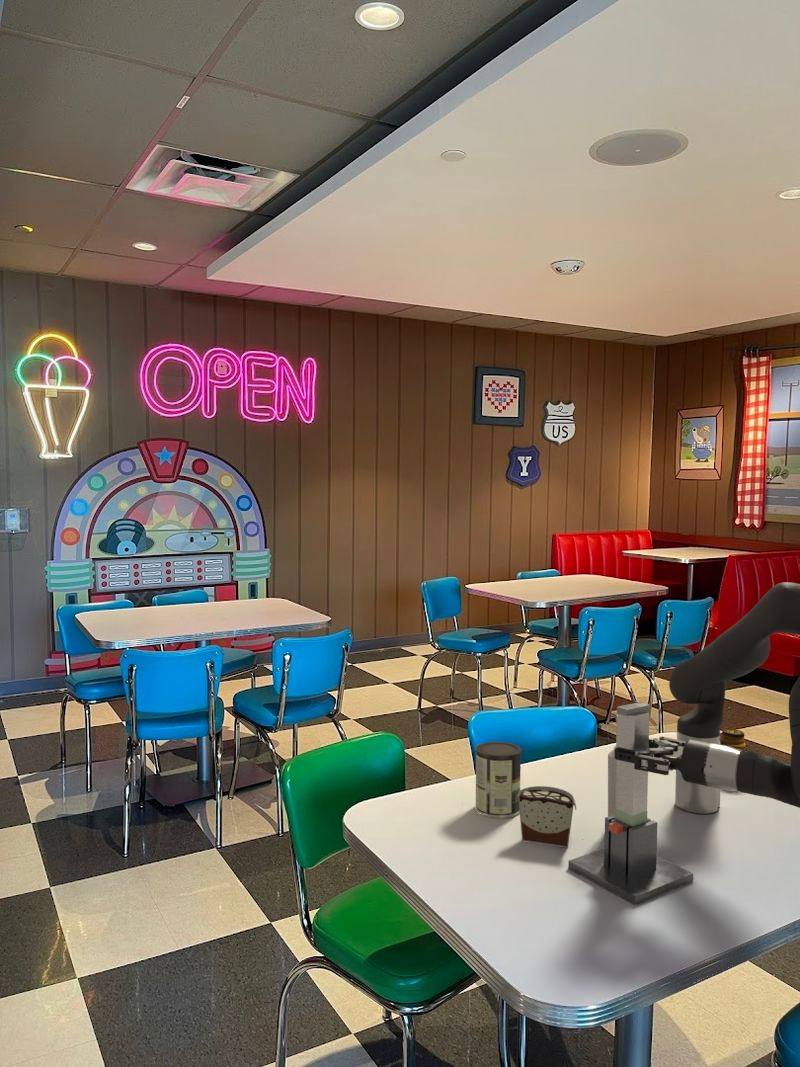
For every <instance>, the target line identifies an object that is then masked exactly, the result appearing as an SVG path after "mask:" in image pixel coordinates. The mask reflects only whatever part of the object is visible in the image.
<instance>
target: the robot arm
mask: <svg viewBox="0 0 800 1067" xmlns="http://www.w3.org/2000/svg"><path fill="white" fill-rule="evenodd" d="M776 633H777V634H778V633H784V634H789V635H790V634H791V635H796V636H800V583H796V582H790V581H789V582H786V581H785V582H779V583H777V584H775V585H773V586H772V587H771V588H770V589H769V590H767V592H766V593H765V594H764V595H763V596H762V597H761V598H760V599H759V601H758V602H757V603H755V605H754V606H753V607H752V608H751V609H750V611H749V612H748V613H746V614H745V615H744V616H743V617H742V618H740V620H738V621H737V622H735V624H733V625H732V626H731V627H729V628H728V629H726V630H725V631H724V632H723V633H721V634H720V635H719V636H718V637H717V638H716V639H714V640H713V641H712V642H710V644H708V645H707V646H705V647H704V648H703V649H702V650H700V651H699V652H698V653H696V654H695V655H693V656H691V657H689V658H688V659H686V660H684V661H682V662H680V663H678V664H677V665H675V667H674V668H673V670H672V672H671V673H670V677H669V680H668V682H669V683H668V684H669V685H668V686H669V690H670V693H671V695H672V696H673V698H674V699H675V700H676V701H678V702H680V703H682V704H686V705H695V704H696V707H694V708H693V709H692V710H691V711H689V712H688V713H685V714H683V715H681V716H680V717H678V719H677V721H676V738H671V737H665V736H659V737H658V738H657V737H654V738H649V748H648V749H647V751H636V750H631V749H626V748H621V747H617V748H615V759H616V760H620V761H625V762H630V763H634V769H637V770H642V771H647V772H648V773H653V774H657V775H663V776H669V773H670V771H673V770H675V794H674V795H675V796H674V804H675V806H676V807H677V808H679V809H681V810H683V811H686V812H689V813H694V814H701V815H702V814H712V813H713V814H714V813H716V812H717V811H718V810H719V807H720V806H721V790H722V791H723V790H724V791H732V792H739V793H744V794H746V795H753V796H756V797H765V798H768V799H772V800H775V801H778V802H781V803H784V804H787V805H790V806H793V807H796V808H799V809H800V675H799V676H798V678H797V680H796V681H795V683H794V684H793V686H792V688H791V691H790V694H789V698H788V719H789V720H788V721H789V732H790V740H791V747H790V748H791V754H790V764H789V763H786V762H785V763H784V762H783V761H780V760H778V759H777V758H775V757H774V756H770V755H768V754H764V753H759V752H755V751H749V750H746V751H744V750H740V749H736V748H733V747H730V746H726V745H720V741H721V728H722V725H723V721H724V710H725V697H726V682H727V681H731V680H735V679H739V678H741V677H744V676H746V675H748V674H749V673H751V672H752V671H754V670H755V669H757V668H759V667H760V666H762V665H763V664H764V663H765V662H766V661H767V659H768V658H769V655H770V652H771V640H770V636H772V635H773V634H776ZM642 760H646V762H642ZM646 766H648V767H646Z"/></svg>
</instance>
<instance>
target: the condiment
mask: <svg viewBox="0 0 800 1067" xmlns="http://www.w3.org/2000/svg"><path fill="white" fill-rule="evenodd" d="M720 745H726V746H730V747H733V748H736V749H740V750H744V751H747V750H746V747H747V745H746V743H745V733H744V731H742V730H740V729H736V728H725V729H724V728H723V729H722V731H721V736H720Z"/></svg>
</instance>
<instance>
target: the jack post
mask: <svg viewBox="0 0 800 1067" xmlns="http://www.w3.org/2000/svg"><path fill="white" fill-rule="evenodd" d="M650 712H651V704H649V703H645V702H642V701H640V702H634V703H629V704H628V703H627V704H625V705H619V706H617V707H616V714H617V715H618V730H617V747H621V748H626V749H631V750H636V751H647V749H648V748H649V739H650ZM642 762H646V760H642ZM646 767H648V766H646ZM648 784H649V772H647V771H642V770H637V769H634V763H630V762H625V761H620V760H617V774H616V808H615V819H616V820H618V821H620V822H622V823H624V824H627V825H629V826H630V828H631V827H634V826H638V825H641V824H644V823H647V818H648V794H649V793H648Z"/></svg>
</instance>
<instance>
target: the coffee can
mask: <svg viewBox="0 0 800 1067" xmlns="http://www.w3.org/2000/svg"><path fill="white" fill-rule="evenodd" d="M521 754H522V748H521V747H520V746H519V745H517V744H514V743H510V742H505V741H488V742H482V743H479V744H477V745H476V746H475V806H476V809H475V811H476V810H477V811H478V812H479V813H481V814H483V815H482V816H484V815H485V816H484V817H487V816H489V817H488V818H490V817H493V818H492V819H509V818H513V817H516V816H518V815H520V812H519V800H518V801H517V802H516V797H517V795H518V792H519V791H520V790H521V768H522V767H521V766H522V764H521V762H522V761H521V760H522V759H521V757H522V755H521ZM477 811H476V812H477ZM478 812H477V813H478ZM479 813H478V814H479ZM481 814H480V815H481Z"/></svg>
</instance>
